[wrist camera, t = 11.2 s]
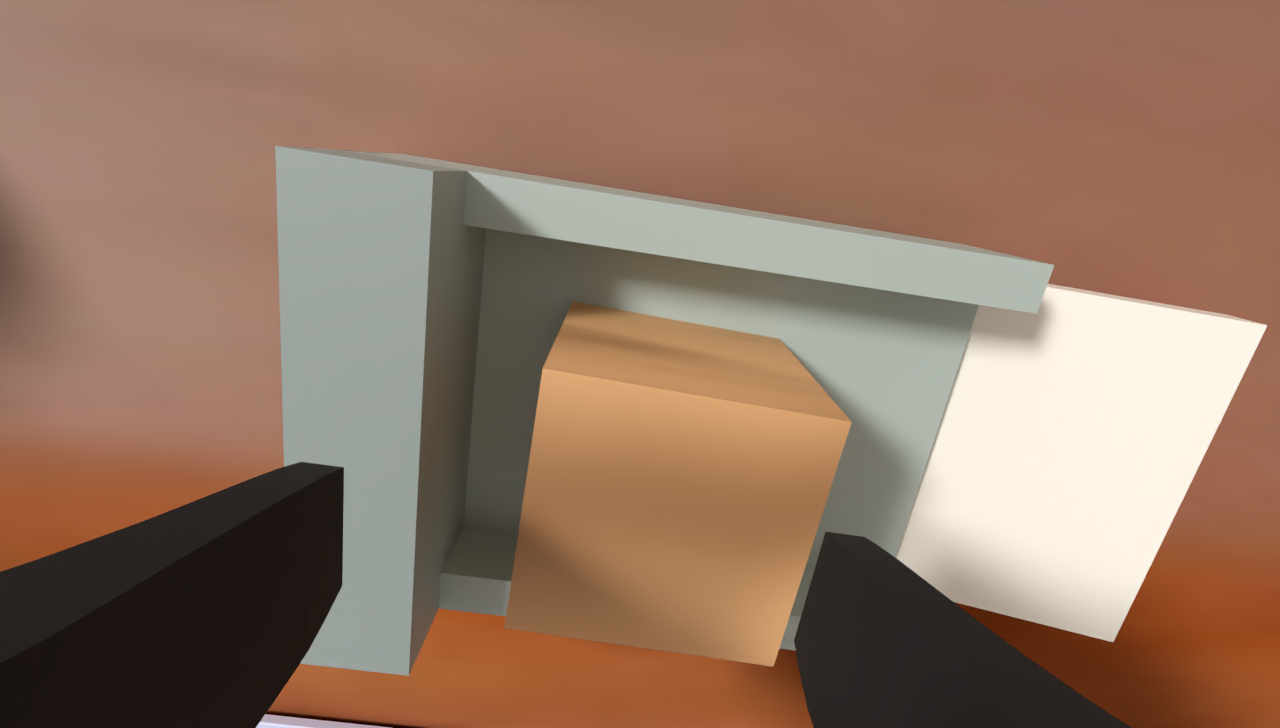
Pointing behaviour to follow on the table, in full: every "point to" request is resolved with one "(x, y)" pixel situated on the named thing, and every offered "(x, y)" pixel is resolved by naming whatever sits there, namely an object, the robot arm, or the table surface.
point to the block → (671, 487)
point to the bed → (524, 335)
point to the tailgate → (1070, 453)
